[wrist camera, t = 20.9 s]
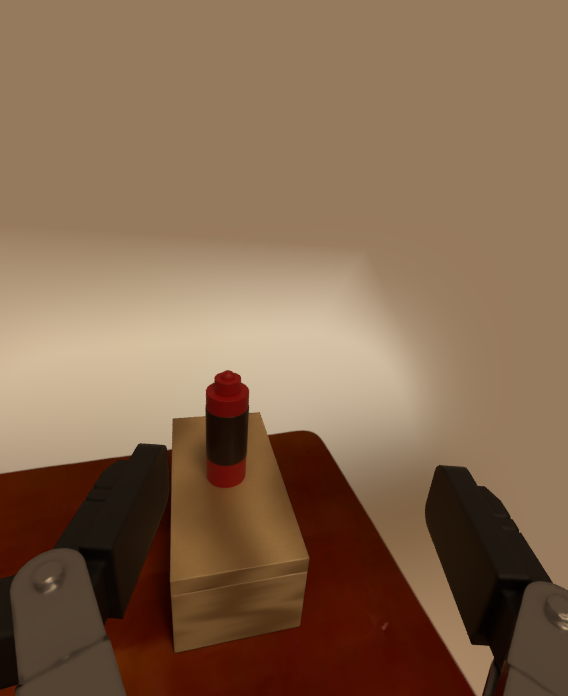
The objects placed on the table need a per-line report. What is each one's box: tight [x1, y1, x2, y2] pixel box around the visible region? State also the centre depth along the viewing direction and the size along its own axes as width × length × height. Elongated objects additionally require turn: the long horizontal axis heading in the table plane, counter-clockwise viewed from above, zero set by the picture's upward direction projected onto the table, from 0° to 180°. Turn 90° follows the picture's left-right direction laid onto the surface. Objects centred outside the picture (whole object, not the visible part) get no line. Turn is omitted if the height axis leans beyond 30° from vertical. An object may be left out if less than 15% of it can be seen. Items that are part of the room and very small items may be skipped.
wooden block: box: [170, 412, 309, 653], centre depth 39 cm, size 10×20×8 cm, turn 14°
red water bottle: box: [206, 370, 249, 488], centre depth 35 cm, size 4×4×11 cm
